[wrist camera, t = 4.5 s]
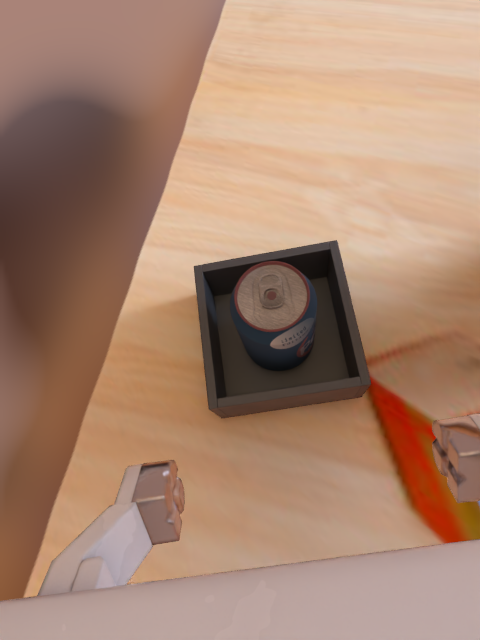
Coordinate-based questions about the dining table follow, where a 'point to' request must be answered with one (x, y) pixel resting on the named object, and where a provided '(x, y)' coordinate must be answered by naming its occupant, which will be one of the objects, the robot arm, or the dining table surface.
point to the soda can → (275, 314)
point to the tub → (308, 377)
